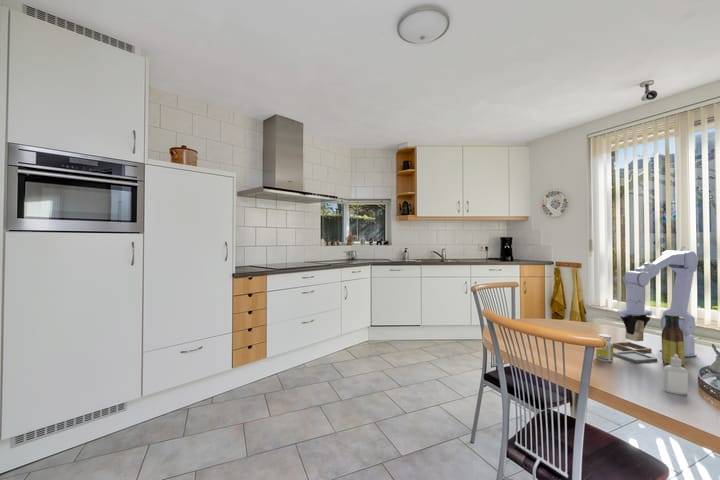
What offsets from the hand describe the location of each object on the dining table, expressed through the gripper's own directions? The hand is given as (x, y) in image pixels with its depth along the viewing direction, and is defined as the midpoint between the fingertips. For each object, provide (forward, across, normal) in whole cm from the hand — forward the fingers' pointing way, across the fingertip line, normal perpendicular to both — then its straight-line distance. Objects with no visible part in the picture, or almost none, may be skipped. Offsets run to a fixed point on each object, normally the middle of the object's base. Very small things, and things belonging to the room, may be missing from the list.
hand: (634, 333), depth 132 cm
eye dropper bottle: (+10, +18, +26) cm, 34 cm away
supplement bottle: (+10, +14, -1) cm, 18 cm away
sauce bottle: (+10, -5, +10) cm, 15 cm away
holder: (+10, -10, -9) cm, 16 cm away
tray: (+10, 0, 0) cm, 10 cm away
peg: (+2, 0, 0) cm, 3 cm away
